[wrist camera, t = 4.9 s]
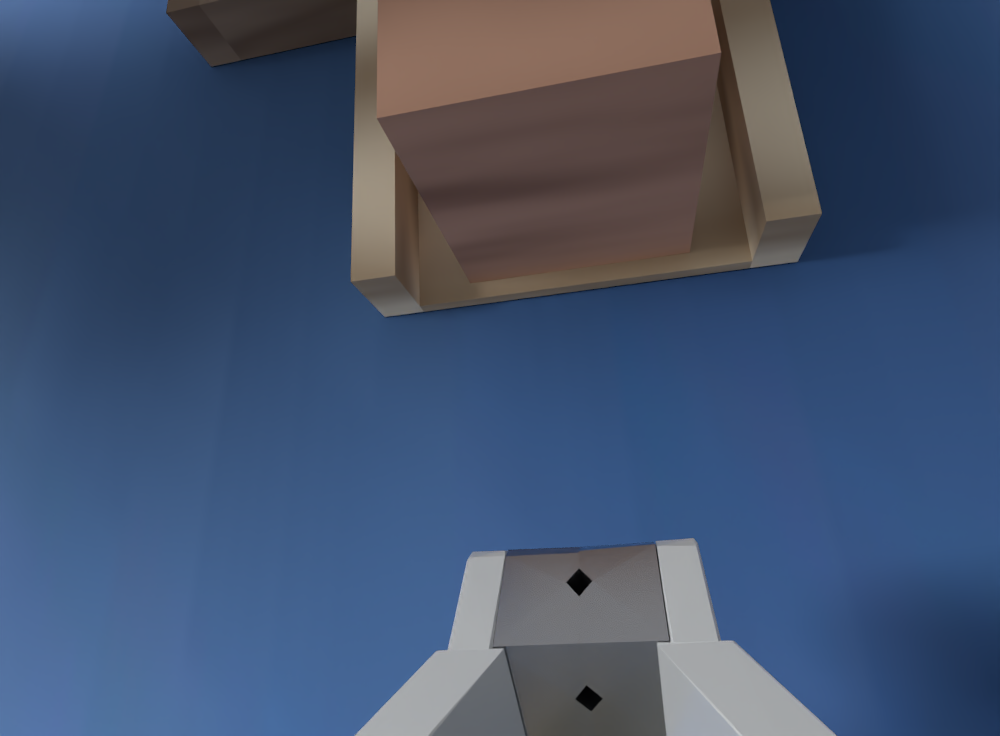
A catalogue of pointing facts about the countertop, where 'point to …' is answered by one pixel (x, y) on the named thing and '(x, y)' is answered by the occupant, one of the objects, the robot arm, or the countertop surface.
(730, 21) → the wooden cross frame
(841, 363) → the countertop surface
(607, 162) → the mahogany brick
